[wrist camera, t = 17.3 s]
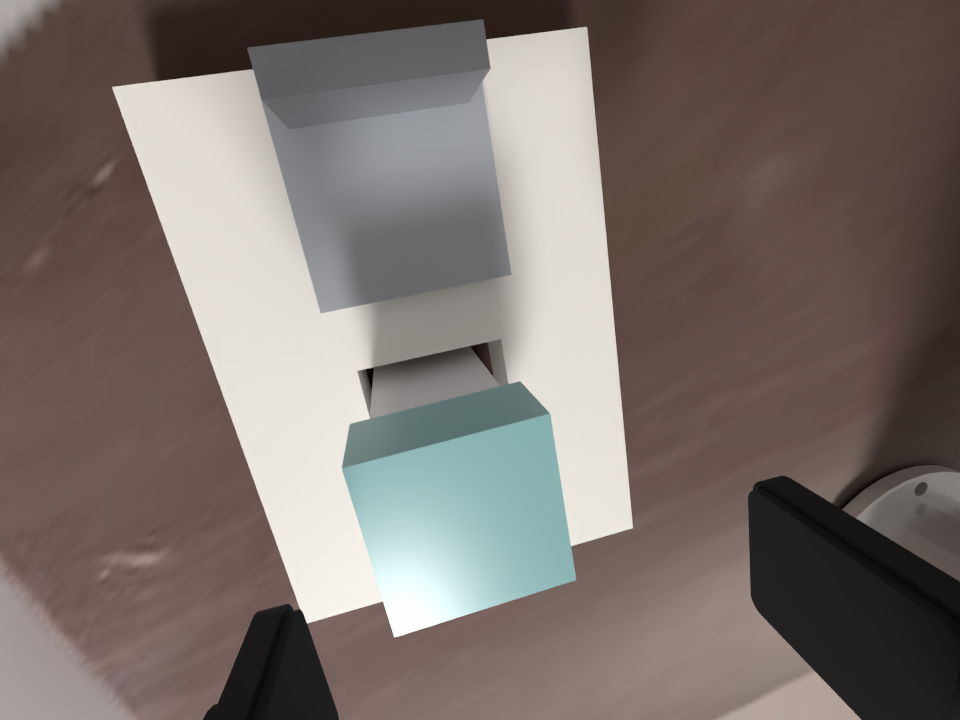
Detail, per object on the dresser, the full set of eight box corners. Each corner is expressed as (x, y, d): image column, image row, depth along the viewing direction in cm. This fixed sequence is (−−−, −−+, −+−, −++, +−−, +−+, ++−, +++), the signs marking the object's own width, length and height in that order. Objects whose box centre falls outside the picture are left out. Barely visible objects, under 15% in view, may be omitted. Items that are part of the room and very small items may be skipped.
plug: (474, 331, 20) (550, 413, 11) (494, 433, 21) (576, 579, 12) (361, 358, 19) (341, 468, 10) (389, 460, 20) (394, 637, 11)
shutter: (505, 272, 16) (540, 283, 12) (323, 309, 15) (305, 332, 12) (474, 71, 14) (504, 17, 11) (265, 100, 13) (222, 50, 10)
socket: (602, 492, 23) (632, 528, 20) (316, 571, 21) (305, 624, 18) (554, 60, 18) (587, 26, 15) (161, 114, 16) (112, 87, 13)
